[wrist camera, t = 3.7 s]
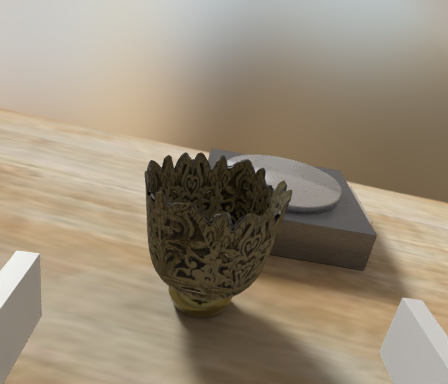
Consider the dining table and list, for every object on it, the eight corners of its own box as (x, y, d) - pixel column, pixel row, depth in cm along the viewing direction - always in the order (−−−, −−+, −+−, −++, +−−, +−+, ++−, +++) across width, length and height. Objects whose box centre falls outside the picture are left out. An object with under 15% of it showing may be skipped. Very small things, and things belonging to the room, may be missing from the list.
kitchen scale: (189, 240, 30) (196, 193, 28) (207, 176, 42) (212, 140, 40) (374, 272, 30) (391, 227, 28) (339, 199, 42) (350, 164, 40)
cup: (286, 331, 23) (323, 204, 20) (161, 366, 19) (180, 218, 16) (224, 257, 29) (245, 149, 25) (119, 274, 25) (128, 151, 22)
